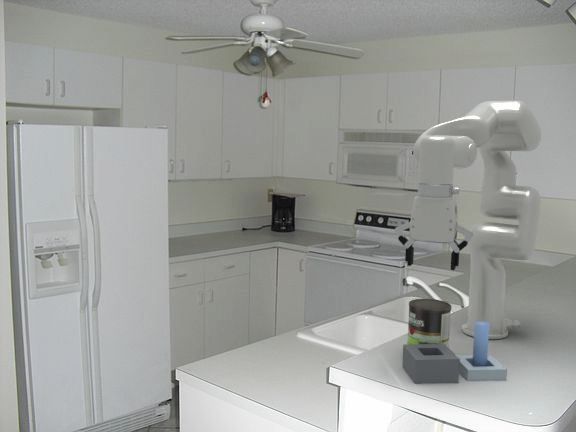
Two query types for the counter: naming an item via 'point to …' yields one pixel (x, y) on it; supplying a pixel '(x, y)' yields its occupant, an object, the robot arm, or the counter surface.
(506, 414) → the counter surface
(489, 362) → the square frame plate
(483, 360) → the plug
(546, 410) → the counter surface
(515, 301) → the counter surface
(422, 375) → the port
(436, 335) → the coffee can
